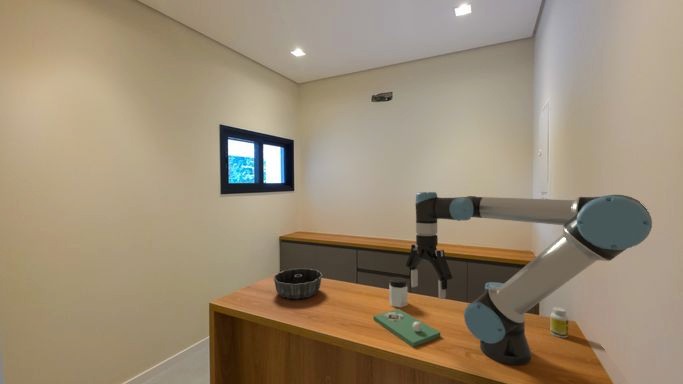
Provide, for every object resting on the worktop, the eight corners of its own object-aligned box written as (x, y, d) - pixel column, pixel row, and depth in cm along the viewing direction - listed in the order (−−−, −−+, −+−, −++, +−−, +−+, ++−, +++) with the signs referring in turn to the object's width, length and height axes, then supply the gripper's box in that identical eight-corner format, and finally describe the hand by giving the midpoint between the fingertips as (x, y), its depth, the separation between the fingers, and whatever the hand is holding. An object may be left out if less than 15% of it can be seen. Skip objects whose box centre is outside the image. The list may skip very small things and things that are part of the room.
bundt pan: (320, 303, 139) (320, 283, 138) (267, 303, 139) (267, 283, 139) (324, 284, 165) (324, 268, 165) (280, 285, 165) (279, 268, 165)
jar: (397, 309, 130) (397, 283, 130) (385, 303, 137) (385, 279, 137) (411, 304, 135) (410, 280, 135) (399, 299, 142) (398, 275, 142)
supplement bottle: (569, 339, 103) (569, 313, 102) (551, 335, 106) (551, 310, 105) (567, 333, 107) (567, 307, 107) (549, 329, 110) (549, 304, 110)
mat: (440, 336, 106) (440, 332, 106) (413, 347, 99) (413, 342, 99) (398, 312, 127) (398, 308, 127) (373, 319, 120) (373, 316, 120)
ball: (424, 332, 106) (424, 322, 106) (417, 334, 104) (417, 325, 104) (417, 328, 109) (417, 319, 109) (410, 330, 108) (410, 321, 108)
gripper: (462, 237, 93) (463, 301, 93) (410, 229, 115) (411, 280, 115) (447, 240, 89) (448, 306, 89) (396, 230, 111) (397, 283, 111)
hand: (427, 292), depth 102 cm, fingers open, 13 cm apart
